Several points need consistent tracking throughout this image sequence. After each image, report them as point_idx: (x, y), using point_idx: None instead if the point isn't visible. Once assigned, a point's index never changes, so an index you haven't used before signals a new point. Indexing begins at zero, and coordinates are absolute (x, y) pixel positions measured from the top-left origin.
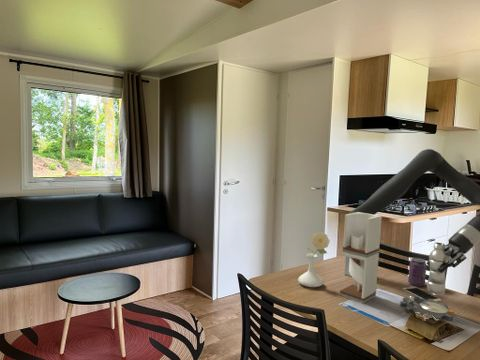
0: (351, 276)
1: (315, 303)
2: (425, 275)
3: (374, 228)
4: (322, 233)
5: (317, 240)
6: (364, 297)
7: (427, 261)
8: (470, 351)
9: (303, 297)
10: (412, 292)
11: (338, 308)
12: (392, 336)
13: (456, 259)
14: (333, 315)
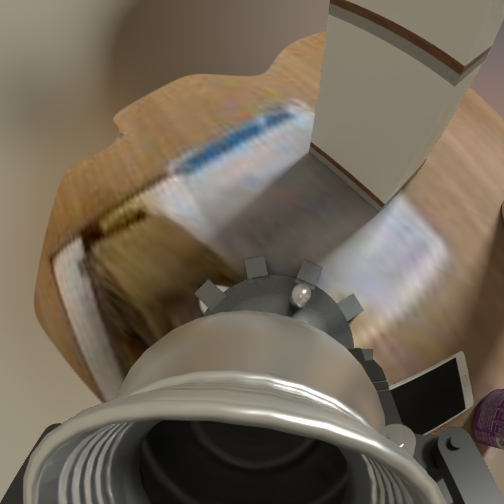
0: (502, 205)
1: (292, 66)
2: (500, 447)
3: None
4: None
5: None
6: (316, 143)
7: (378, 365)
8: (42, 313)
9: (321, 57)
10: (429, 374)
11: (269, 93)
12: (122, 162)
13: (20, 481)
14: (231, 80)
